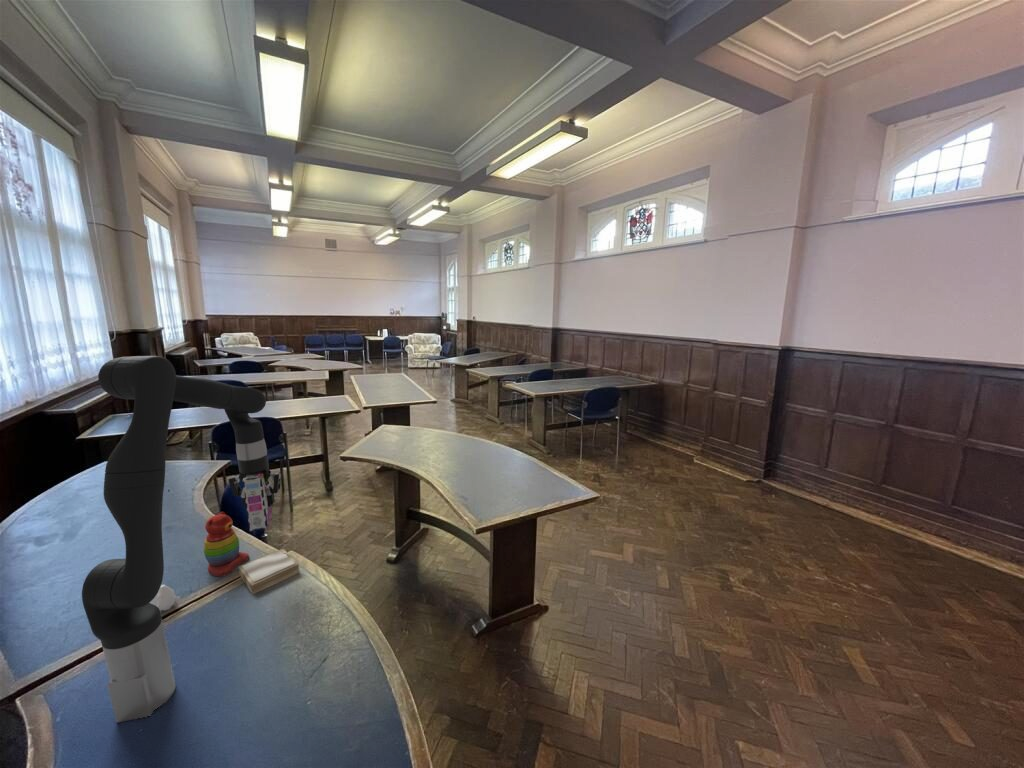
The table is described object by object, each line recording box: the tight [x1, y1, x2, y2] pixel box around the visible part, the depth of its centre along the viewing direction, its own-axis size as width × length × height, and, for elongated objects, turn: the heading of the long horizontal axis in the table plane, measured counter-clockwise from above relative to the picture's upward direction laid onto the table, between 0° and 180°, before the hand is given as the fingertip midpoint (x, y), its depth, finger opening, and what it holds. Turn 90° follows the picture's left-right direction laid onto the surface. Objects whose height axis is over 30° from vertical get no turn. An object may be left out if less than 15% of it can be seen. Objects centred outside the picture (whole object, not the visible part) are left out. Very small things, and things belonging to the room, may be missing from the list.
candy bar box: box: [242, 473, 273, 532], centre depth 122 cm, size 11×5×16 cm, turn 25°
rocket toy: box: [150, 583, 182, 611], centre depth 112 cm, size 5×5×8 cm
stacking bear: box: [203, 511, 250, 577], centre depth 130 cm, size 11×10×18 cm
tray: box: [238, 548, 300, 595], centre depth 127 cm, size 13×13×3 cm
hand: (259, 506), depth 123 cm, fingers closed on candy bar box, 5 cm apart
